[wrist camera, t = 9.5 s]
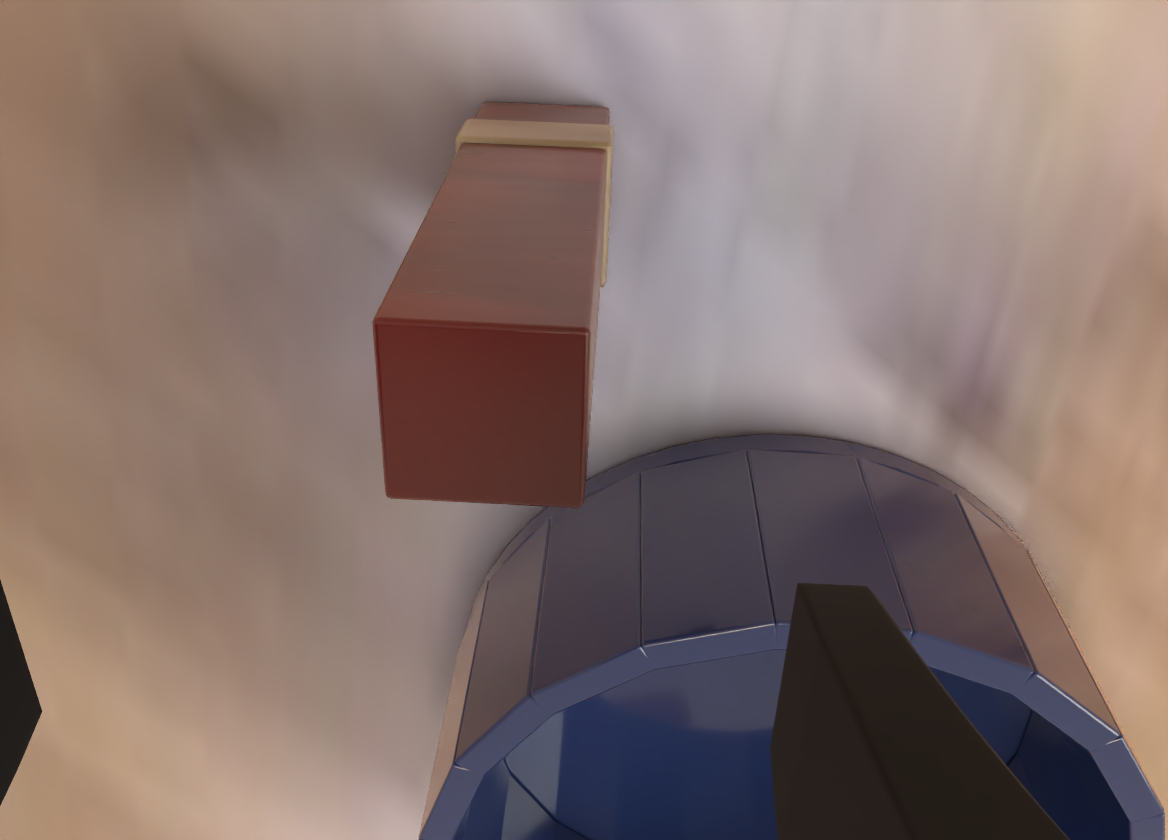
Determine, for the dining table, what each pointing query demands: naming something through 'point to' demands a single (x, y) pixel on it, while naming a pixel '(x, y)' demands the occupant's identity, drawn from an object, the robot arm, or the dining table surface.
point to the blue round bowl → (750, 648)
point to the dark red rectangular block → (500, 314)
